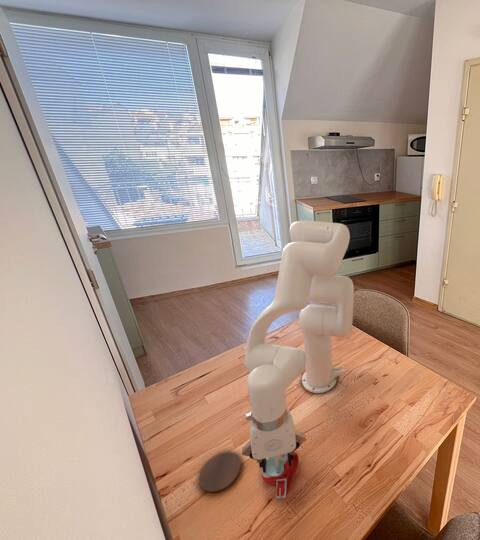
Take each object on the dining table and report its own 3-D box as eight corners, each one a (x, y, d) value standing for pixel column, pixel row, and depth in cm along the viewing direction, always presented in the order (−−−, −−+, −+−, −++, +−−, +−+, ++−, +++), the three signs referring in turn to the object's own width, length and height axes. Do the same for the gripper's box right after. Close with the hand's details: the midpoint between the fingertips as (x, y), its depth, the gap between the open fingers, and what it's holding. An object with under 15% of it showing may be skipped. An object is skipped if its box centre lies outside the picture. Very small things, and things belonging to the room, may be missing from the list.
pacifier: (257, 480, 72) (281, 482, 71) (254, 463, 69) (278, 466, 69) (268, 451, 78) (290, 453, 78) (266, 435, 76) (288, 437, 75)
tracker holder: (252, 470, 77) (282, 438, 83) (260, 479, 79) (288, 447, 85) (276, 499, 69) (307, 461, 75) (284, 508, 71) (314, 470, 77)
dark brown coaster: (242, 450, 83) (242, 448, 83) (239, 487, 75) (238, 485, 74) (204, 458, 81) (203, 456, 81) (195, 498, 72) (195, 496, 72)
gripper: (228, 437, 62) (240, 488, 69) (309, 419, 66) (313, 469, 74) (232, 408, 69) (243, 457, 76) (306, 394, 73) (309, 442, 80)
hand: (277, 463), depth 75 cm, fingers closed on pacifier, 5 cm apart
